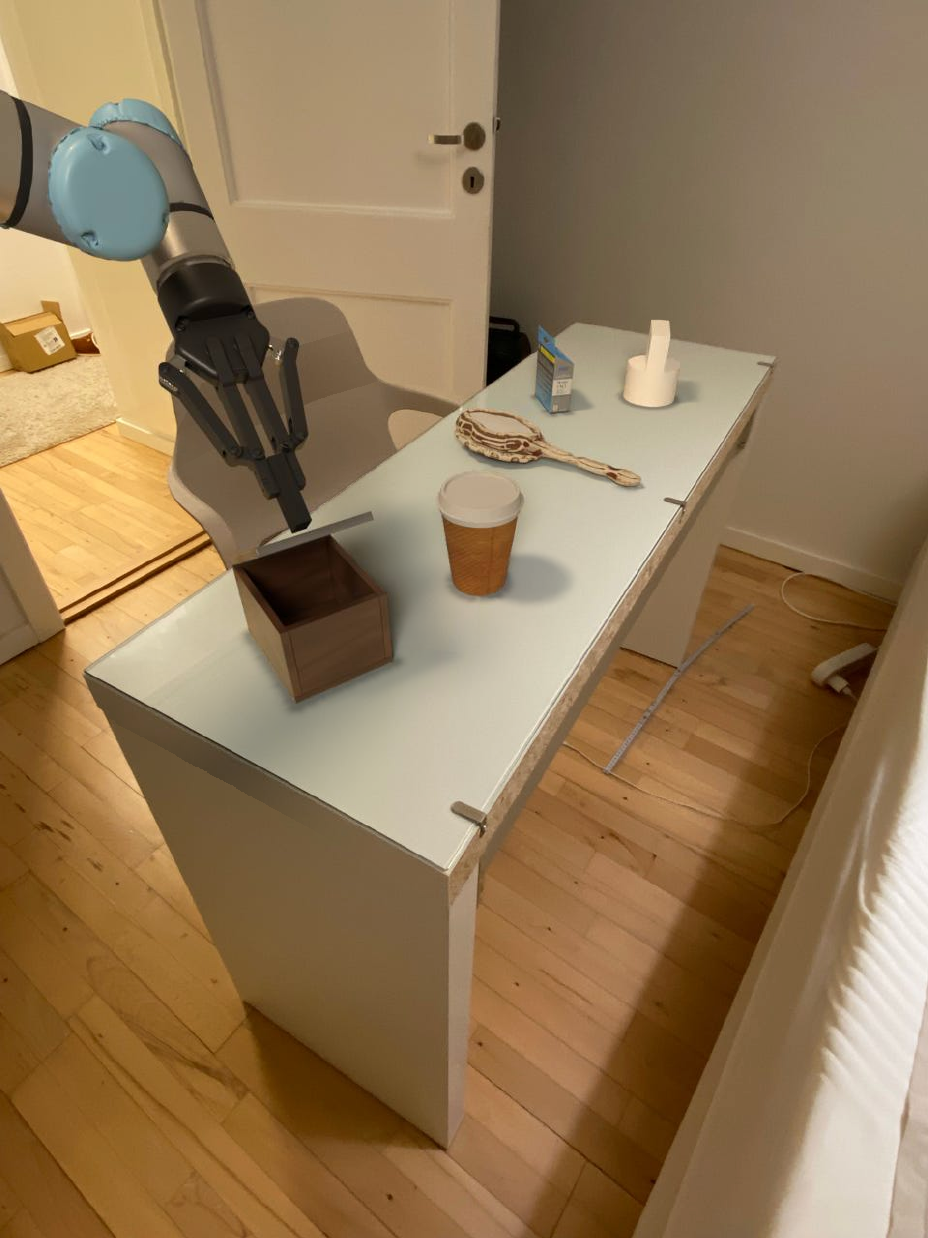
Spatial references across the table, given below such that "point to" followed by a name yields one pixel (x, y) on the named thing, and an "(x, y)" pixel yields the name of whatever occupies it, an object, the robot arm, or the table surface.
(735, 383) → the table surface
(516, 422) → the hand mirror
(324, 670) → the box
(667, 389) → the cylinder with rectangular tab
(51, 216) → the robot arm
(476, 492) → the disposable coffee cup
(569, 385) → the ink cartridge box
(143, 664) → the table surface
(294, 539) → the lid
